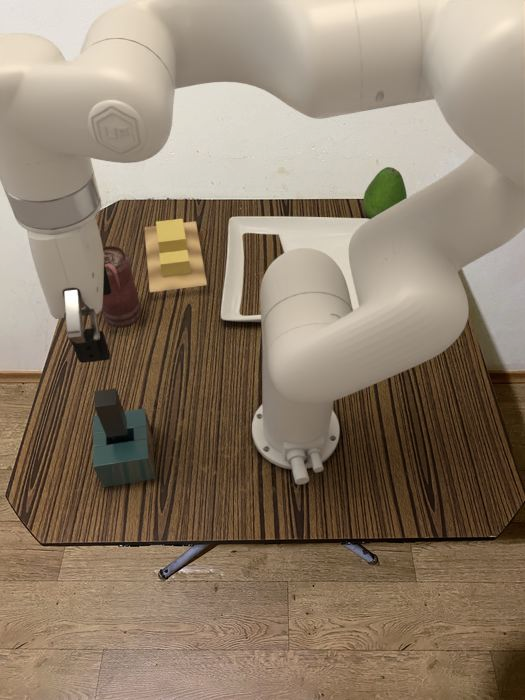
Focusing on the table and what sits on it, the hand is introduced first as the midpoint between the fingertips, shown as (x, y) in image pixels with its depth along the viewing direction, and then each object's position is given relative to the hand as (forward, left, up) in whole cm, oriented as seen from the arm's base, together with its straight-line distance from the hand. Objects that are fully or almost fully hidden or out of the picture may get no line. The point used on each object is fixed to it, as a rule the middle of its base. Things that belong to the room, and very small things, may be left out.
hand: (96, 325), depth 63 cm
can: (+24, +1, -25) cm, 35 cm away
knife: (-3, +1, -25) cm, 25 cm away
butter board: (+37, -9, -25) cm, 46 cm away
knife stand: (-3, +1, -25) cm, 25 cm away
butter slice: (+33, -9, -23) cm, 41 cm away
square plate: (+28, -31, -25) cm, 49 cm away
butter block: (+41, -9, -23) cm, 48 cm away
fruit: (+41, -50, -25) cm, 69 cm away
